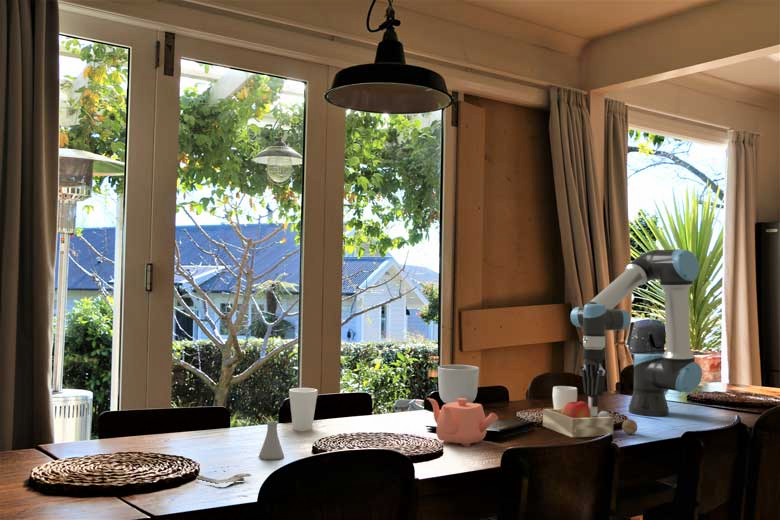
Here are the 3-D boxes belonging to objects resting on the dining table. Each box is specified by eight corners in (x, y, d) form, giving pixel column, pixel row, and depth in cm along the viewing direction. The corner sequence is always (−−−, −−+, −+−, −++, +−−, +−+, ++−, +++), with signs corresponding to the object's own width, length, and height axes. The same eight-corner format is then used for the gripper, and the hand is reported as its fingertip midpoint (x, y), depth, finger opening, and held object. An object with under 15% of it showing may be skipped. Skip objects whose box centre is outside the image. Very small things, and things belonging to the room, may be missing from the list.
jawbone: (235, 493, 185) (235, 485, 185) (160, 487, 190) (160, 478, 190) (251, 481, 193) (251, 473, 193) (179, 474, 199) (179, 467, 199)
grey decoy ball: (605, 422, 283) (605, 409, 283) (612, 424, 278) (613, 412, 278) (595, 422, 281) (595, 410, 281) (602, 425, 277) (602, 412, 277)
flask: (259, 454, 221) (260, 419, 221) (285, 454, 221) (285, 419, 221) (257, 460, 213) (258, 424, 214) (283, 460, 214) (284, 424, 214)
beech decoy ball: (631, 432, 265) (631, 417, 265) (640, 435, 260) (640, 420, 261) (619, 432, 264) (619, 418, 264) (628, 435, 259) (628, 421, 259)
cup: (574, 418, 289) (575, 386, 289) (578, 422, 280) (579, 390, 280) (550, 417, 290) (551, 385, 290) (553, 421, 281) (554, 389, 281)
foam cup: (321, 427, 260) (322, 389, 260) (307, 432, 252) (308, 393, 252) (297, 424, 264) (298, 387, 264) (282, 429, 256) (283, 390, 256)
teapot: (442, 450, 232) (443, 404, 232) (425, 436, 250) (426, 394, 250) (498, 448, 236) (499, 403, 236) (478, 435, 254) (479, 393, 254)
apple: (585, 427, 272) (586, 399, 272) (592, 433, 262) (593, 403, 262) (558, 426, 272) (558, 398, 272) (564, 432, 262) (564, 403, 262)
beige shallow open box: (581, 424, 277) (582, 407, 277) (613, 435, 259) (613, 417, 259) (542, 426, 272) (543, 409, 272) (572, 437, 254) (572, 419, 254)
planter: (433, 400, 321) (434, 364, 321) (473, 401, 323) (474, 364, 323) (440, 408, 304) (441, 369, 304) (482, 408, 306) (483, 370, 306)
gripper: (574, 346, 273) (573, 412, 273) (595, 350, 261) (594, 419, 260) (592, 346, 275) (591, 411, 275) (614, 349, 263) (613, 418, 263)
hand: (592, 415), depth 268 cm, fingers closed
